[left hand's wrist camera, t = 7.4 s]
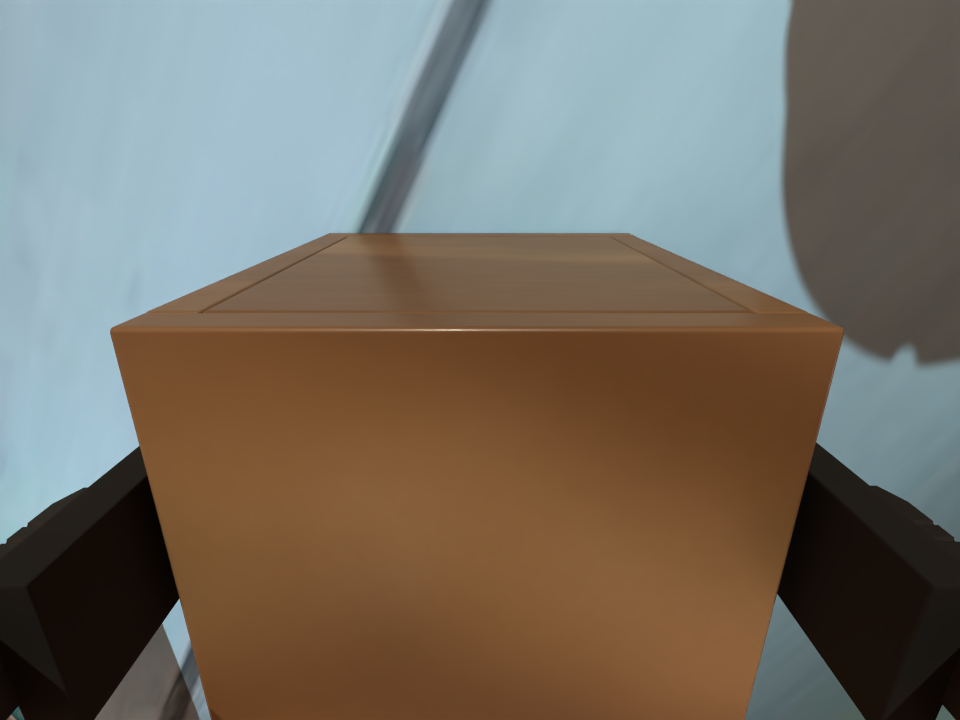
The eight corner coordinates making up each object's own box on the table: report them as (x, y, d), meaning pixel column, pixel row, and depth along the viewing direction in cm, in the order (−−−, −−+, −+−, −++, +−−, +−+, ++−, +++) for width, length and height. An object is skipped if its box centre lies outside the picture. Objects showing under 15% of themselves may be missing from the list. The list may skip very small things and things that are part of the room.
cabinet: (592, 613, 24) (681, 970, 13) (366, 613, 24) (274, 970, 13) (629, 233, 18) (847, 327, 7) (328, 233, 18) (105, 328, 7)
